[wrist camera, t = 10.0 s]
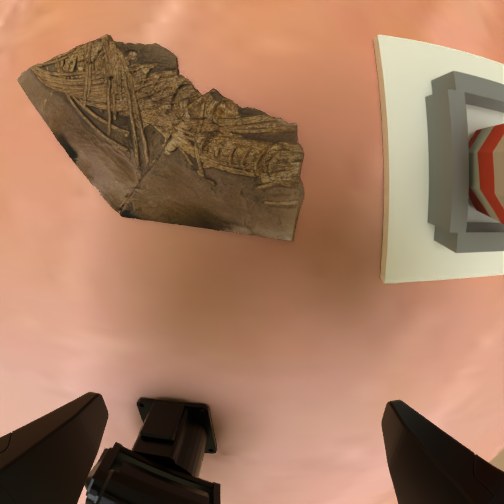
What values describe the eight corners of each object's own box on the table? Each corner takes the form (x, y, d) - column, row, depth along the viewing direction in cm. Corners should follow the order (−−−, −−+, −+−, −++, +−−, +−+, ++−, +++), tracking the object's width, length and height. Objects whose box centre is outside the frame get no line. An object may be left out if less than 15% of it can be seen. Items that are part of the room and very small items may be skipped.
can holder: (535, 266, 19) (563, 282, 15) (380, 278, 20) (400, 303, 16) (537, 82, 15) (567, 76, 11) (373, 39, 16) (393, 16, 12)
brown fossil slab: (347, 163, 19) (351, 163, 18) (248, 298, 22) (247, 304, 21) (63, 8, 16) (56, 4, 15) (3, 121, 19) (-5, 121, 18)
